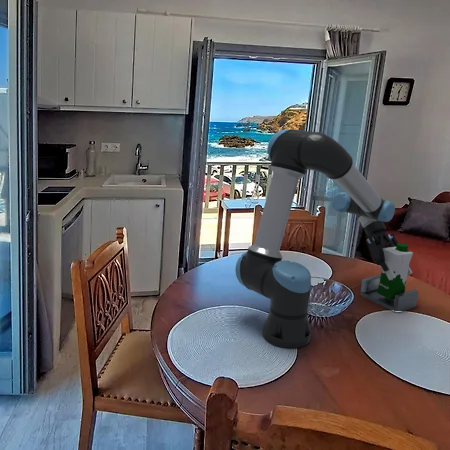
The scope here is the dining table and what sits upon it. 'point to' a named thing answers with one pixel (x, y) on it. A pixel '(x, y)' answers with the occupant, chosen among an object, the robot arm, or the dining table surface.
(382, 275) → the soya milk
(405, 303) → the vise base
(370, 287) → the block
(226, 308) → the dining table surface
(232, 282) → the dining table surface
